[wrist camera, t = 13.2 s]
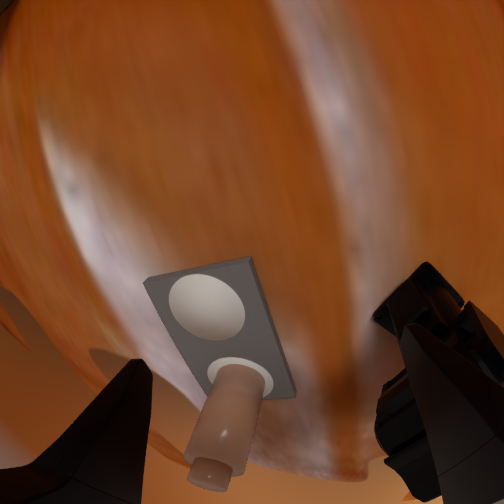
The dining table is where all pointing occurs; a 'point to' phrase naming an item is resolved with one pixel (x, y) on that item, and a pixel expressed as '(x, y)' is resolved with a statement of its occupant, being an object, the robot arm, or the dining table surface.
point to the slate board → (222, 323)
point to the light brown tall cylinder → (225, 428)
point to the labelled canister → (4, 4)
